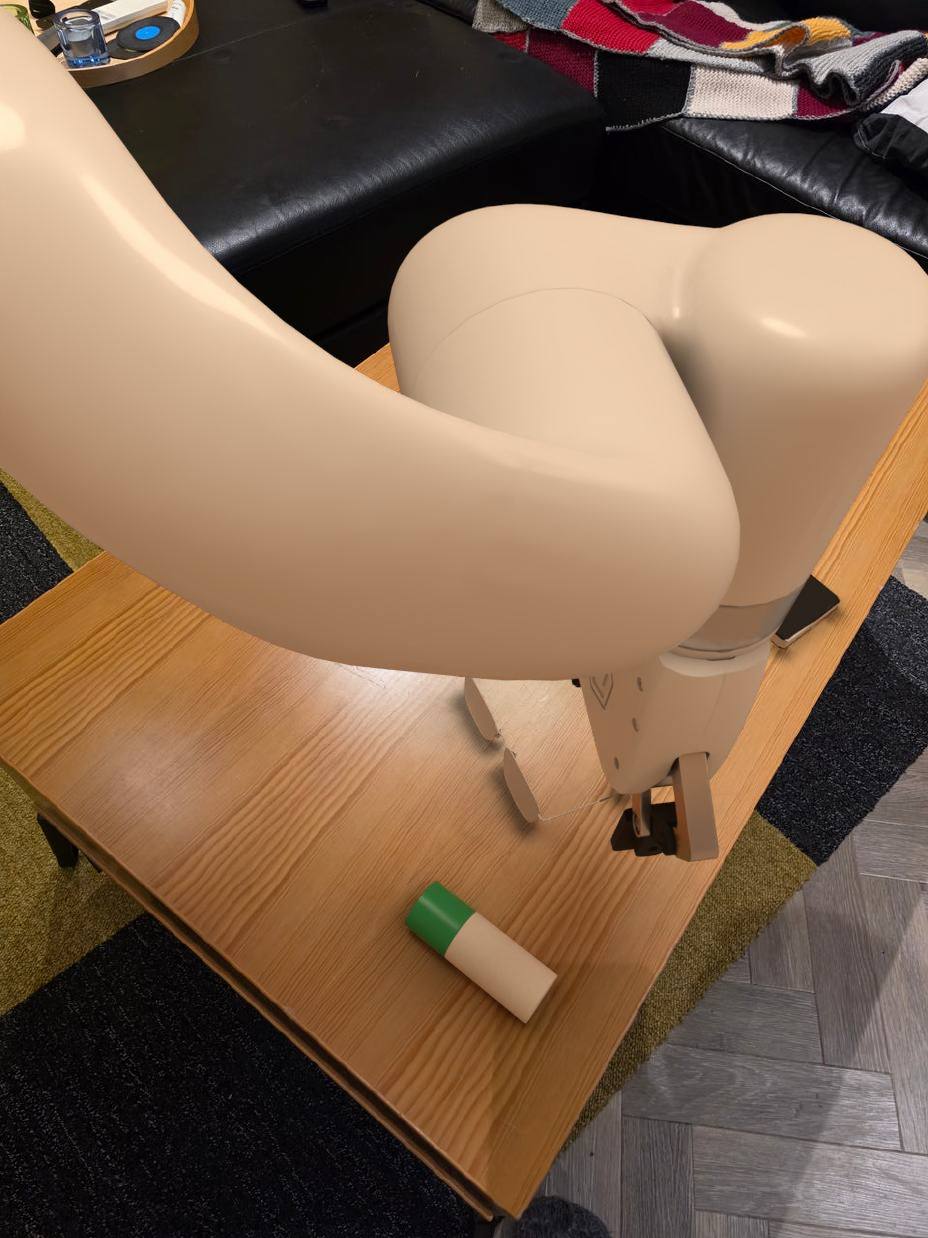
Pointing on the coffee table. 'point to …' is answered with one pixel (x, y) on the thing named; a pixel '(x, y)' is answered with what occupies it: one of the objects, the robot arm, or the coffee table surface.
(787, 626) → the smartphone
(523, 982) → the marker
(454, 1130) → the coffee table surface
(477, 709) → the eyeglasses
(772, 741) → the coffee table surface
